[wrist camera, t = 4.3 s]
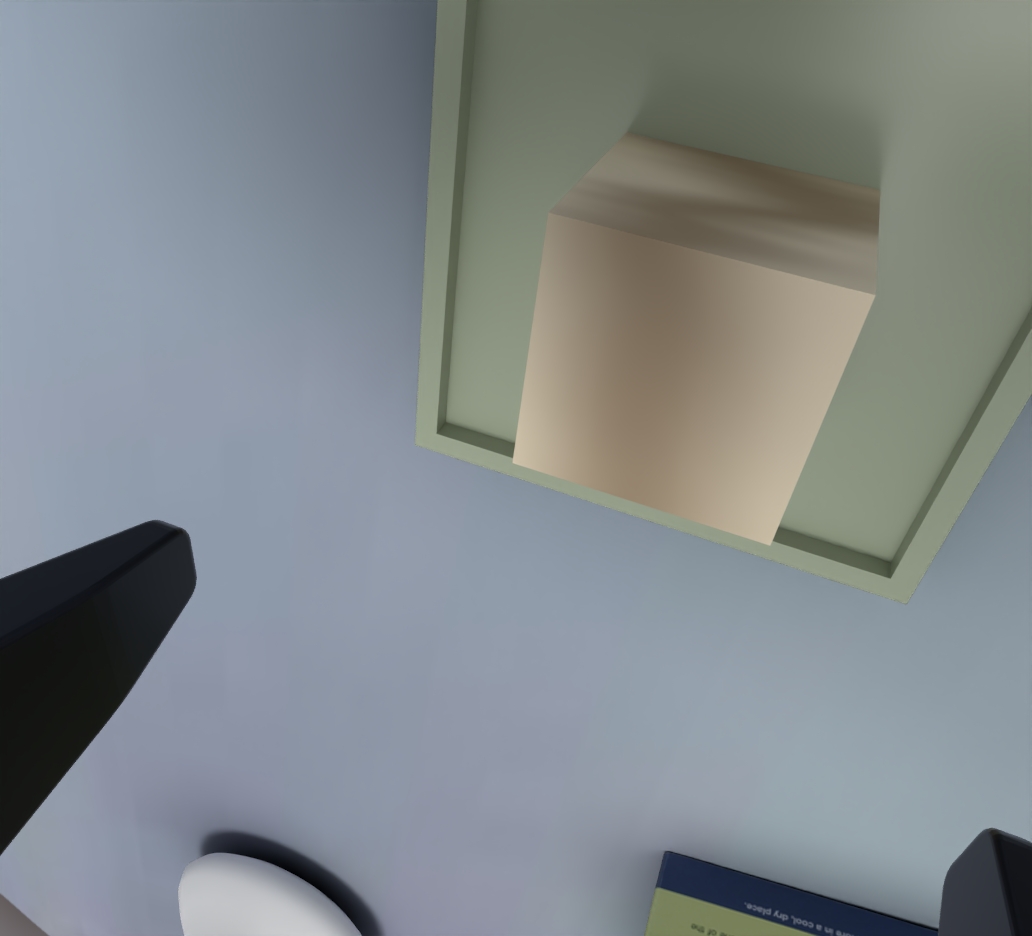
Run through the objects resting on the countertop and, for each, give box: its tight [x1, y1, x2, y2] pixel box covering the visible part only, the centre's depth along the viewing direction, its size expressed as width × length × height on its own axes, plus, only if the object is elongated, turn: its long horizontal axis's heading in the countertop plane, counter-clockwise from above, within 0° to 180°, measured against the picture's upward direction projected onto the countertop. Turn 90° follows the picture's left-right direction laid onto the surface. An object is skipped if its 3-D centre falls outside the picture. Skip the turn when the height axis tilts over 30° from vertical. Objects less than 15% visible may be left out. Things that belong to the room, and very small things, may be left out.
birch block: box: [512, 132, 881, 546], centre depth 16 cm, size 5×5×5 cm
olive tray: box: [415, 0, 1032, 604], centre depth 18 cm, size 13×13×1 cm
